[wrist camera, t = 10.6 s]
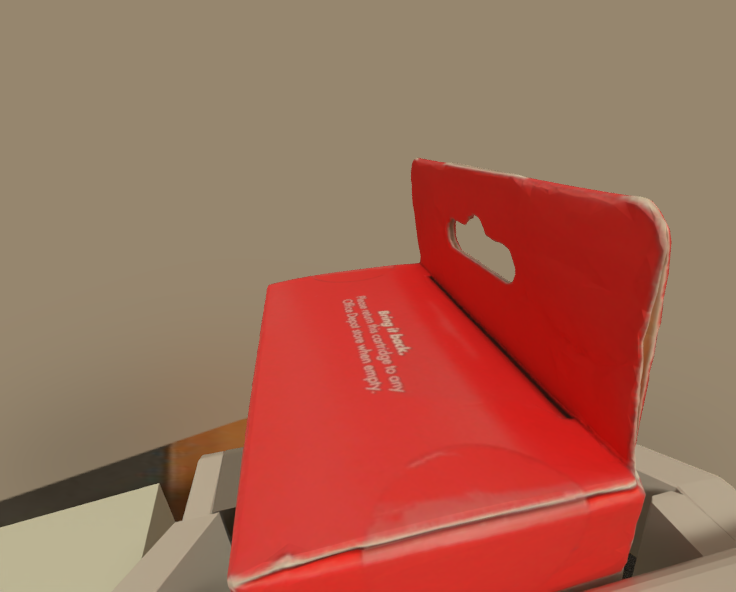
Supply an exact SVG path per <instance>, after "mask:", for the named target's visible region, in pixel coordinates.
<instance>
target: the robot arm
mask: <svg viewBox="0 0 736 592" xmlns="http://www.w3.org/2000/svg"><path fill="white" fill-rule="evenodd" d="M243 448H244V447H242V448H237V449H231V450H226V451H223V452H218V453H212V454H207V455H203V456H202V457H201V458H200V460H199V461H198V465H197V468H196V472H195V476H194V479H193V483H192V487H191V490H190V494H189V498H188V501H187V505H186V509H185V512H184V516H183V520H182V521H179V522H175V523H174V524H173V525H172V526H171V527H170V528H169V529H168V530H167V531H166V533H165V534H164V535H163V536H162V537H161V538H160V539H159V540H158V541H157V542H156V544H155V545H154V546H153V547H152V548H151V549H150V550H149V551H148V552H147V553H146V554H145V556H144V557H143V558H142V559H141V560H140V561H139V562H138V563H137V564H136V565H135V567H134V568H133V569H132V570H131V571H130V572H129V573H128V574H127V575H126V576H125V578H124V579H123V580H122V581H121V582H120V583H119V584H118V585H117V586H116V587H115V588H114V590H113V591H112V592H231V591H230V589H229V587H228V583H227V574H228V567H229V559H230V552H231V544H232V536H233V526H234V519H235V511H236V503H237V495H238V487H239V480H240V471H241V462H242V454H243ZM635 462H636V470H637V473H638V475H639V477H640V480H641V482H642V485H643V488H644V491H645V494H646V496H645V499H644V503H643V506H642V510H641V513H640V516H639V519H638V521H637V524H636V529H635V535H634V539H633V543H632V546H631V549H630V552H629V553H630V554H632V555H633V556H635V557H636V558H637V559H636V563H635V567H634V571H633V575H632V577H630V578H627V579H624V580H620V581H617V582H613V583H610V584H606V585H603V586H599V587H596V588H592V589H589V590H585V591H582V592H736V489H734V488H733V487H732V486H731V485H729V484H728V483H727V482H726V481H724V480H723V479H722V478H721V477H719V476H716V475H714V474H711V473H709V472H706V471H704V470H701V469H699V468H696V467H694V466H691V465H689V464H686V463H684V462H681V461H679V460H676V459H674V458H671V457H668V456H666V455H663V454H661V453H658V452H656V451H653V450H651V449H648V448H646V447H643V446H641V445H638V444H636V446H635Z"/></svg>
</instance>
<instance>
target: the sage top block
mask: <svg viewBox="0 0 736 592" xmlns="http://www.w3.org/2000/svg"><path fill="white" fill-rule="evenodd" d="M174 523H175V520H174V518H173V515H172V513H171V510H170V508H169V506H168V503H167V501H166V498H165V496H164V494H163V491H162V489H161V486H160V484H159V483H158V484H155V485H151V486H148V487H144V488H140V489H137V490H133V491H130V492H126V493H123V494H119V495H115V496H112V497H108V498H105V499H101V500H98V501H94V502H90V503H87V504H83V505H80V506H76V507H73V508H69V509H65V510H62V511H58V512H55V513H51V514H48V515H44V516H40V517H37V518H33V519H30V520H26V521H23V522H19V523H15V524H12V525H8V526H5V527H1V528H0V592H112V591H113V590H114V588H115V587H116V586H117V585H118V584H119V583H120V582H121V581H122V580H123V579H124V578H125V576H126V575H127V574H128V573H129V572H130V571H131V570H132V569H133V568H134V567H135V565H136V564H137V563H138V562H139V561H140V560H141V559H142V558H143V557H144V556H145V554H146V553H147V552H148V551H149V550H150V549H151V548H152V547H153V546H154V545H155V544H156V542H157V541H158V540H159V539H160V538H161V537H162V536H163V535H164V534H165V533H166V531H167V530H168V529H169V528H170V527H171V526H172V525H173V524H174Z"/></svg>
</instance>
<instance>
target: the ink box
mask: <svg viewBox="0 0 736 592" xmlns="http://www.w3.org/2000/svg"><path fill="white" fill-rule="evenodd" d="M411 182H412V199H413V207H414V213H415V221H416V230H417V237H418V244H419V249H420V254H421V260H420V263H416V264H404V265H392V266H383V267H374V268H366V269H359V270H351V271H343V272H335V273H328V274H321V275H315V276H308V277H303V278H297V279H292V280H288V281H283V282H279V283H274V284H271V285H269V286H268V288H267V294H266V300H265V305H264V312H263V319H262V325H261V331H260V341H259V346H258V351H257V359H256V365H255V372H254V378H253V383H252V392H251V398H250V406H249V413H248V420H247V428H246V433H245V444H244V448H243V454H242V462H241V471H240V480H239V487H238V495H237V503H236V511H235V519H234V526H233V536H232V544H231V552H230V559H229V567H228V574H227V583H228V587H229V589H230V591H231V592H582V591H585V590H589V589H592V588H596V587H599V586H603V585H606V584H610V583H613V582H617V581H620V580H622V577H623V571H624V566H625V564H626V563H627V560H628V555H629V552H630V549H631V546H632V543H633V539H634V535H635V529H636V524H637V521H638V519H639V516H640V513H641V510H642V506H643V503H644V499H645V496H646V494H645V491H644V488H643V485H642V482H641V480H640V477H639V475H638V473H637V470H636V462H635V446H636V441H637V435H638V430H639V424H640V419H641V414H642V410H643V406H644V401H645V396H646V391H647V386H648V381H649V372H650V368H651V365H652V362H653V358H654V353H655V347H656V340H657V334H658V330H659V327H660V324H661V318H662V309H663V299H664V294H665V289H666V284H667V279H668V274H669V263H670V252H671V236H670V229H669V227H668V225H667V223H666V221H665V219H664V217H663V215H662V213H661V211H660V210H659V209H658V208H657V207H656V205H655V204H654V203H653V201H651V200H649V199H647V198H644V197H640V196H628V195H621V194H615V193H608V192H602V191H597V190H591V189H585V188H579V187H574V186H568V185H562V184H558V183H553V182H547V181H541V180H537V179H532V178H528V177H524V176H521V175H517V174H511V173H505V172H500V171H495V170H489V169H483V168H478V167H474V166H467V165H463V164H458V163H444V162H437V161H431V160H426V159H421V158H416V159H415V160H414V161H413V163H412V170H411ZM474 215H475V216H477V217H478V218H479V219H480V221H481V223H482V226H483V228H484V231H485V234H486V235H487V236H488V237H490V238H491V239H492V240H494V241H496V242H500V243H502V244H503V245H505V246H506V247H507V248H508V249H509V251H510V253H511V256H512V259H513V262H514V266H515V274H516V275H515V277H514V280H513V282H510V281H508V280H506V279H504V278H503V277H502V276H500V275H499V274H497V273H496V272H494V271H493V270H491V269H490V268H488V267H486V266H485V265H483V264H482V263H481V262H480V261H479V260H477V259H475V258H473V257H472V256H470V255H469V254H468V253H466V252H464V251H462V249H461V247H460V245H459V243H458V241H457V238H456V228H455V227H456V225H455V223H456V221H458V222H460V223H462V224H464V225H465V224H467V222H468V221H469V220H470V219H472V218H473V216H474Z"/></svg>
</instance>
